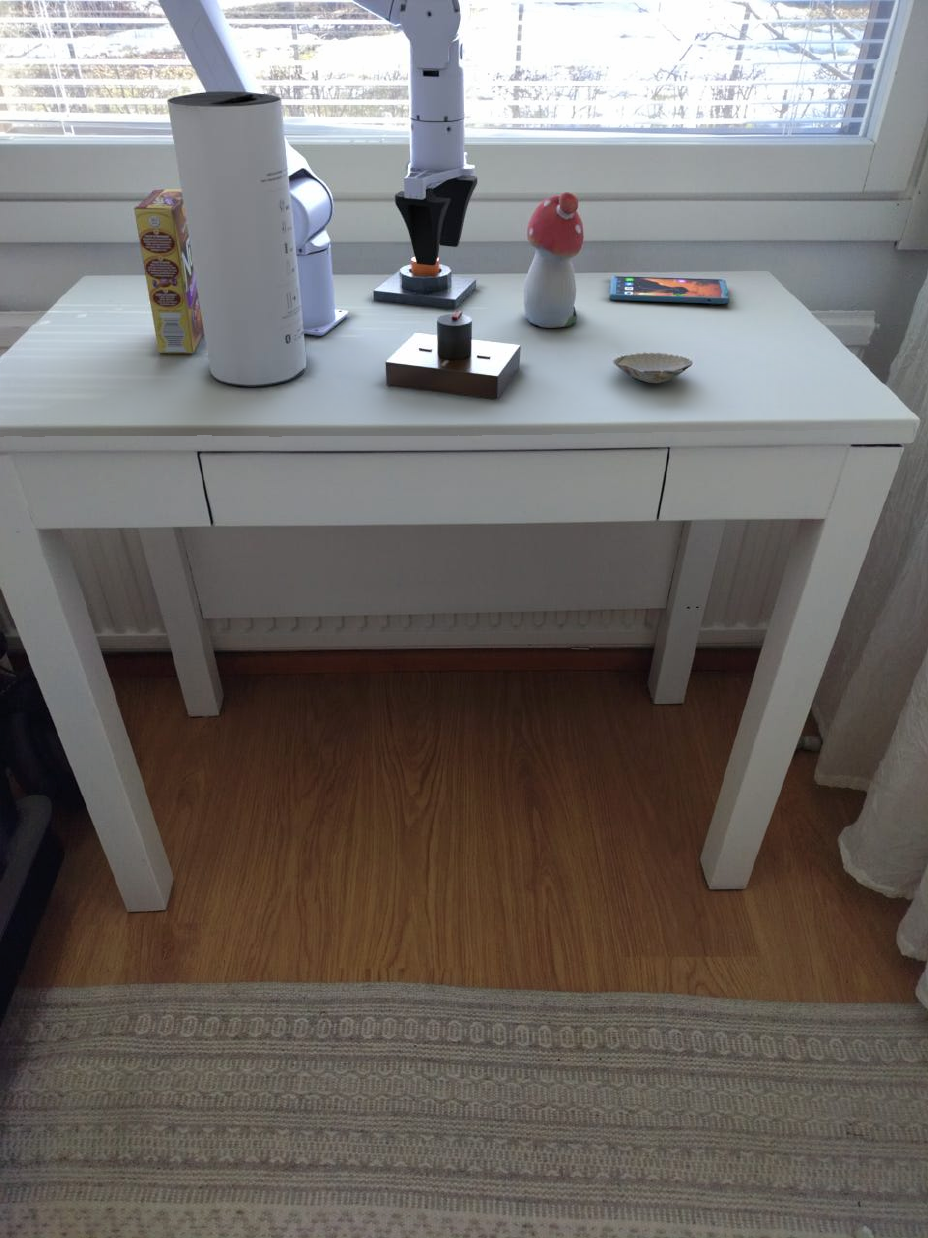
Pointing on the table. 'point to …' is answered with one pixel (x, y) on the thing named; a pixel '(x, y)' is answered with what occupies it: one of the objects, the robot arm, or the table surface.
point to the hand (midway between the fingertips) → (438, 254)
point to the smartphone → (669, 290)
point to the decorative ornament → (553, 262)
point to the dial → (454, 336)
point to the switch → (424, 268)
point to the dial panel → (453, 367)
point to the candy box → (169, 271)
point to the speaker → (241, 233)
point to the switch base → (425, 288)
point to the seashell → (653, 366)
